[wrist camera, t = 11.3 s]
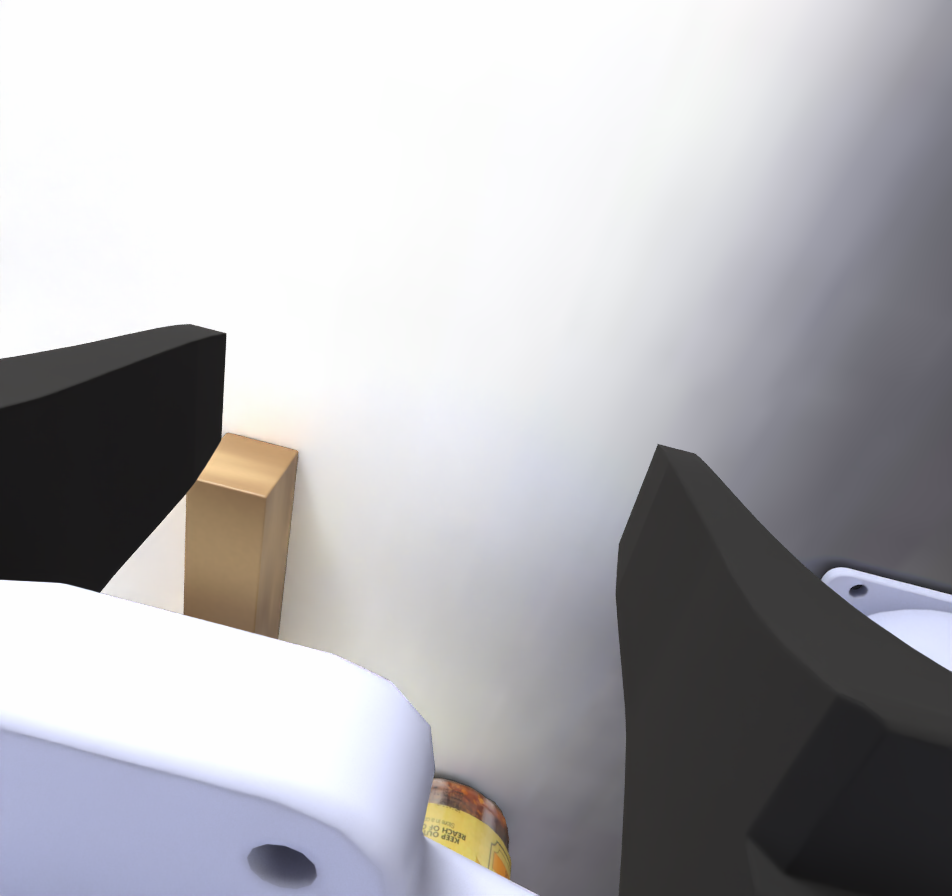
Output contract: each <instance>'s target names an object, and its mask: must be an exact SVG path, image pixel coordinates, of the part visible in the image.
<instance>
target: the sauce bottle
mask: <svg viewBox="0 0 952 896" xmlns="http://www.w3.org/2000/svg"><path fill="white" fill-rule="evenodd" d="M422 831H423V834H424V836H426V837H428V838H430V839H431V840H433V841H435V842H437V843H439V844H441V845H443V846H445V847H447V848H449V849H451V850H453V851H455V852H456V853H458V854H460V855H462V856H464V857H466V858H468V859H470V860H472V861H474V862H476V863H478V864H479V865H481V866H483V867H485V868H487V869H489V870H491V871H493V872H495V873H497V874H499V875H501V876H503V877H504V878H506V879H508V880H510V873H511V859H510V856H509V854H508V852H509V849H508V844H509V837H508V828H507V826H506V821H505V818H504V817H503V814H502V811H501V810H500V809H499V807H498V806H497V805H496V804H495V802H493V801H491V800H489V799H487V798H485V797H484V796H483V795H482V794H480V793H479V792H477V791H476V790H474V789H473V788H471V787H469V786H466V785H462V784H460V783H457V782H455V781H452V780H446V779H444V778H433V782H432V787H431V792H430V796H429V801H428V805H427V810H426V815H425V819H424V824H423V829H422Z"/></svg>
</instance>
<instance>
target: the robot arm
mask: <svg viewBox="0 0 952 896" xmlns="http://www.w3.org/2000/svg"><path fill="white" fill-rule="evenodd" d="M225 352H226V333H223V332H219V331H215V330H211V329H207V328H203V327H199V326H195V325H191V324H186V325H174V326H168V327H162V328H156V329H151V330H146V331H141V332H137V333H132V334H127V335H123V336H118V337H114V338H109V339H104V340H100V341H95V342H91V343H86V344H81V345H76V346H71V347H65V348H60V349H54V350H49V351H44V352H38V353H33V354H27V355H22V356H16V357H9V358H3V359H0V896H539V895H537V894H535V893H533V892H531V891H529V890H528V889H526V888H524V887H522V886H520V885H518V884H516V883H514V882H512V881H510V880H508V879H506V878H504V877H503V876H501V875H499V874H497V873H495V872H493V871H491V870H489V869H487V868H485V867H483V866H481V865H479V864H478V863H476V862H474V861H472V860H470V859H468V858H466V857H464V856H462V855H460V854H458V853H456V852H455V851H453V850H451V849H449V848H447V847H445V846H443V845H441V844H439V843H437V842H435V841H433V840H431V839H430V838H428V837H426V836H424V834H423V831H422V829H423V824H424V819H425V815H426V810H427V805H428V801H429V796H430V792H431V787H432V782H433V778H434V773H435V763H434V754H433V745H432V736H431V727H430V725H429V724H428V723H427V722H426V720H425V719H424V718H423V717H422V716H421V715H420V713H419V712H418V711H417V710H416V709H415V708H414V707H413V705H412V704H411V703H410V702H409V701H408V700H407V698H406V697H405V696H404V695H403V694H402V693H401V691H400V690H399V689H398V688H397V687H396V686H395V685H394V683H392V682H391V681H390V680H388V679H386V678H384V677H382V676H380V675H378V674H376V673H373V672H371V671H369V670H367V669H365V668H363V667H361V666H359V665H356V664H354V663H352V662H350V661H348V660H346V659H344V658H342V657H340V656H337V655H335V654H331V653H328V652H324V651H320V650H316V649H312V648H308V647H305V646H301V645H297V644H293V643H289V642H286V641H282V640H278V639H274V638H270V637H267V636H263V635H259V634H255V633H251V632H247V631H244V630H240V629H236V628H232V627H228V626H225V625H221V624H217V623H213V622H209V621H205V620H202V619H198V618H194V617H190V616H186V615H183V614H179V613H175V612H171V611H167V610H163V609H160V608H156V607H152V606H148V605H144V604H141V603H137V602H133V601H129V600H125V599H121V598H118V597H114V596H110V595H106V594H102V593H100V592H101V591H102V589H103V588H104V587H105V586H106V585H107V583H108V582H109V581H110V580H111V578H112V577H113V576H114V575H115V574H116V572H117V571H118V570H119V569H120V568H121V567H122V566H123V565H124V563H125V562H126V561H127V560H128V559H129V558H130V557H131V556H132V554H133V553H134V552H135V551H136V550H137V549H138V548H139V547H140V545H141V544H142V543H143V542H144V541H145V540H146V539H147V538H148V536H149V535H150V534H151V533H152V532H153V531H154V530H155V529H156V527H157V526H158V525H159V524H160V523H161V522H162V521H163V520H164V518H165V517H166V516H167V515H168V514H169V513H170V512H171V510H172V509H173V508H174V507H175V506H176V505H177V504H178V502H179V501H180V500H181V499H182V498H183V497H184V495H185V494H186V493H187V492H188V491H189V490H190V488H191V487H192V486H193V485H194V483H195V482H196V480H197V479H198V477H199V476H200V474H201V473H202V471H203V470H204V468H205V467H206V465H207V463H208V462H209V460H210V459H211V457H212V455H213V454H214V452H215V450H216V449H217V447H218V445H219V444H220V442H221V434H222V413H223V393H224V373H225ZM855 585H863V586H862V587H861V588H859V589H856V590H850V588H852V587H853V586H855ZM616 605H617V618H618V631H619V643H620V654H621V665H622V677H623V688H624V700H625V715H626V761H625V794H624V814H623V834H622V855H621V869H620V884H619V896H952V595H950V594H946V593H942V592H938V591H934V590H931V589H927V588H923V587H919V586H915V585H911V584H907V583H903V582H899V581H896V580H892V579H888V578H884V577H880V576H876V575H872V574H868V573H865V572H861V571H857V570H853V569H849V568H843V567H838V568H833V569H831V570H829V571H828V572H827V573H826V574H825V575H824V576H823V578H822V579H821V580H820V579H819V578H818V577H816V576H815V575H814V574H813V573H812V572H811V571H810V570H808V569H807V568H806V567H805V566H804V565H803V564H802V563H801V562H800V561H799V560H797V559H796V558H795V557H794V556H793V555H792V554H791V553H790V552H789V551H788V550H787V549H786V548H785V547H784V546H783V545H782V544H781V543H780V542H779V541H778V540H777V539H776V538H775V537H774V536H773V535H772V534H771V533H770V532H769V531H768V530H767V529H766V528H765V527H764V526H763V525H762V524H761V523H760V522H759V521H758V520H757V519H756V518H755V517H754V516H753V515H752V513H751V512H750V511H749V510H748V509H747V508H746V507H745V506H744V505H743V504H742V503H741V501H740V500H739V499H738V498H737V497H736V496H735V495H734V494H733V493H732V492H731V490H730V489H729V488H728V487H727V486H726V485H725V484H724V483H723V481H722V480H721V479H720V478H719V477H718V476H717V475H716V474H715V473H714V472H713V470H712V469H711V468H710V467H709V466H708V465H707V464H706V463H705V462H704V461H703V460H702V459H701V458H700V457H698V456H697V455H696V454H694V453H690V452H687V451H683V450H679V449H675V448H671V447H667V446H663V445H659V444H658V446H657V448H656V451H655V453H654V456H653V458H652V461H651V463H650V466H649V469H648V471H647V474H646V476H645V479H644V481H643V484H642V486H641V489H640V492H639V494H638V497H637V499H636V502H635V504H634V507H633V509H632V512H631V515H630V517H629V520H628V522H627V525H626V527H625V530H624V533H623V535H622V538H621V540H620V543H619V552H618V565H617V580H616Z"/></svg>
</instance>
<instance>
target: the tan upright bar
mask: <svg viewBox="0 0 952 896" xmlns="http://www.w3.org/2000/svg"><path fill="white" fill-rule="evenodd" d="M297 462H298V451H297V450H293V449H289V448H285V447H281V446H278V445H274V444H270V443H266V442H262V441H258V440H254V439H250V438H247V437H243V436H239V435H235V434H231V433H226V434H225V435H224V437H223V438H222V439H221V442H220V444H219V445H218V447H217V449H216V450H215V452H214V454H213V455H212V457H211V459H210V460H209V462H208V463H207V465H206V467H205V468H204V470H203V471H202V473H201V474H200V476H199V477H198V479H197V480H196V482H195V483H194V485H193V486H192V487H191V488H190V490H189V491H188V492H187V493H186V530H185V575H184V615H186V616H190V617H194V618H198V619H202V620H205V621H209V622H213V623H217V624H221V625H225V626H228V627H232V628H236V629H240V630H244V631H247V632H251V633H255V634H259V635H263V636H267V637H270V638H274V639H278V635H279V626H280V617H281V607H282V598H283V589H284V580H285V571H286V562H287V553H288V544H289V535H290V526H291V517H292V507H293V498H294V489H295V480H296V471H297Z"/></svg>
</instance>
